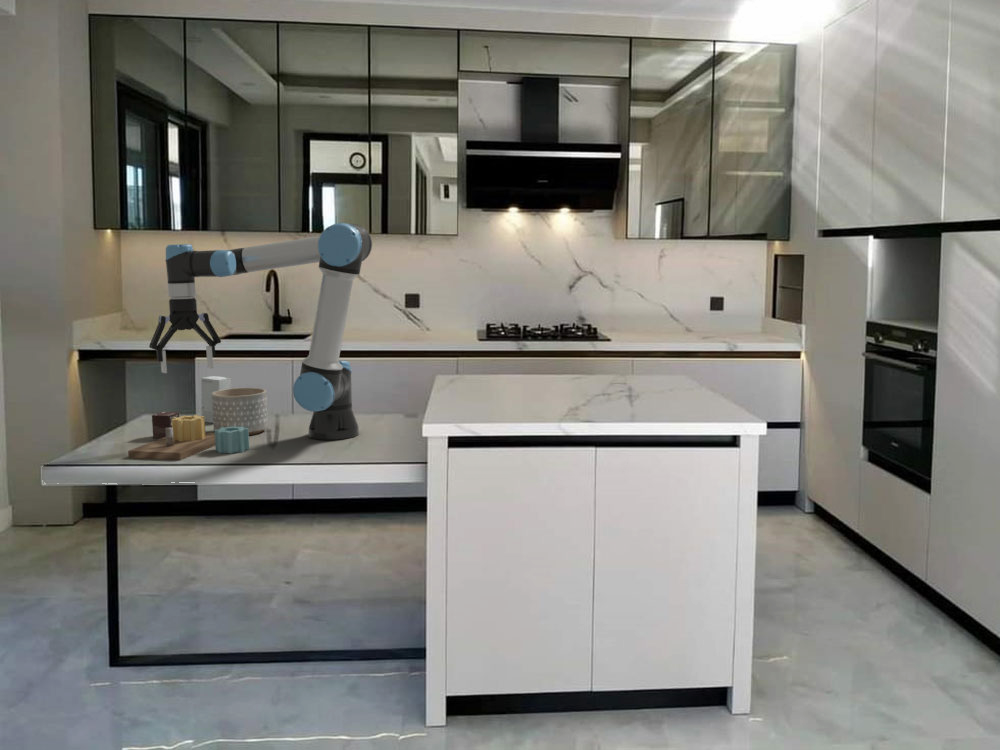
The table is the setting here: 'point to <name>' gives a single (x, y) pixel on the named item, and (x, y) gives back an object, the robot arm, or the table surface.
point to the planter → (240, 409)
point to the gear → (232, 439)
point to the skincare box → (207, 389)
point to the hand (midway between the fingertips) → (187, 370)
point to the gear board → (172, 447)
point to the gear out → (188, 428)
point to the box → (162, 423)
